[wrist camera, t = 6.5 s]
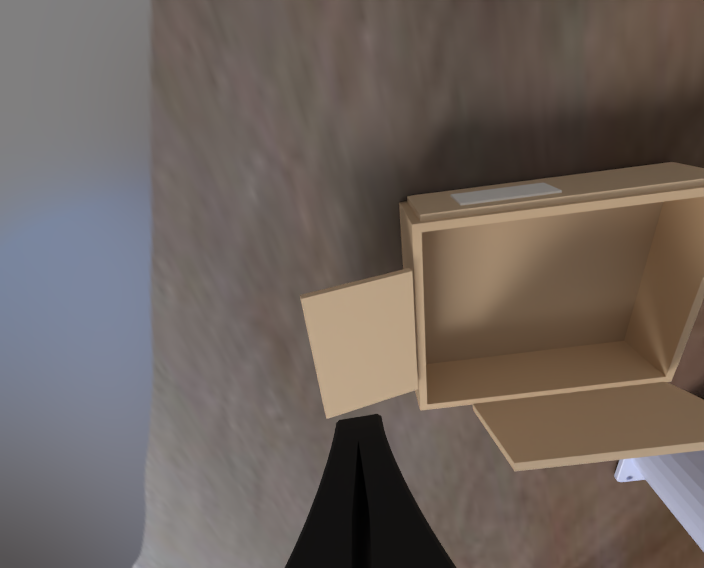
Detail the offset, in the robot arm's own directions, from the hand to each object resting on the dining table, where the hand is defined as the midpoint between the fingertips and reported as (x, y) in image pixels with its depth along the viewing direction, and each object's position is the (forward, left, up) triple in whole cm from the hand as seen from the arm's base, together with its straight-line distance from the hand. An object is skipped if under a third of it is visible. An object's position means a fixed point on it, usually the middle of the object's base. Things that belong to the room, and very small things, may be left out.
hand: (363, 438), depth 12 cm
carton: (-10, +1, -10) cm, 14 cm away
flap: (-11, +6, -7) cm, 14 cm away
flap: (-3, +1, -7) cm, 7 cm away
